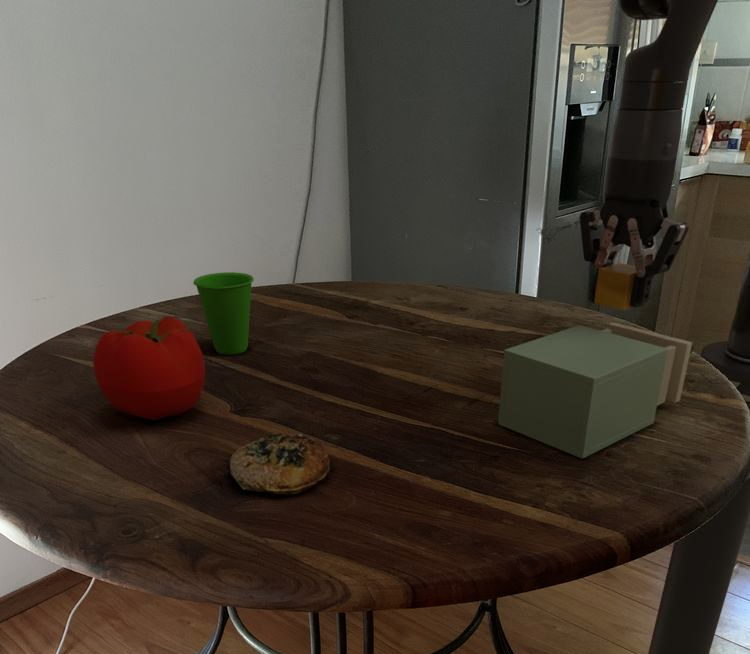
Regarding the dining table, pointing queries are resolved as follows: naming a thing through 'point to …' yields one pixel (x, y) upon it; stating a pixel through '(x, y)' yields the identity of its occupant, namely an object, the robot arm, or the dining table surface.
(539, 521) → the dining table surface
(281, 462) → the bread roll
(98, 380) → the tomato
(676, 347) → the drawer
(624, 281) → the block
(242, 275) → the cup
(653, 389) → the sage green box
